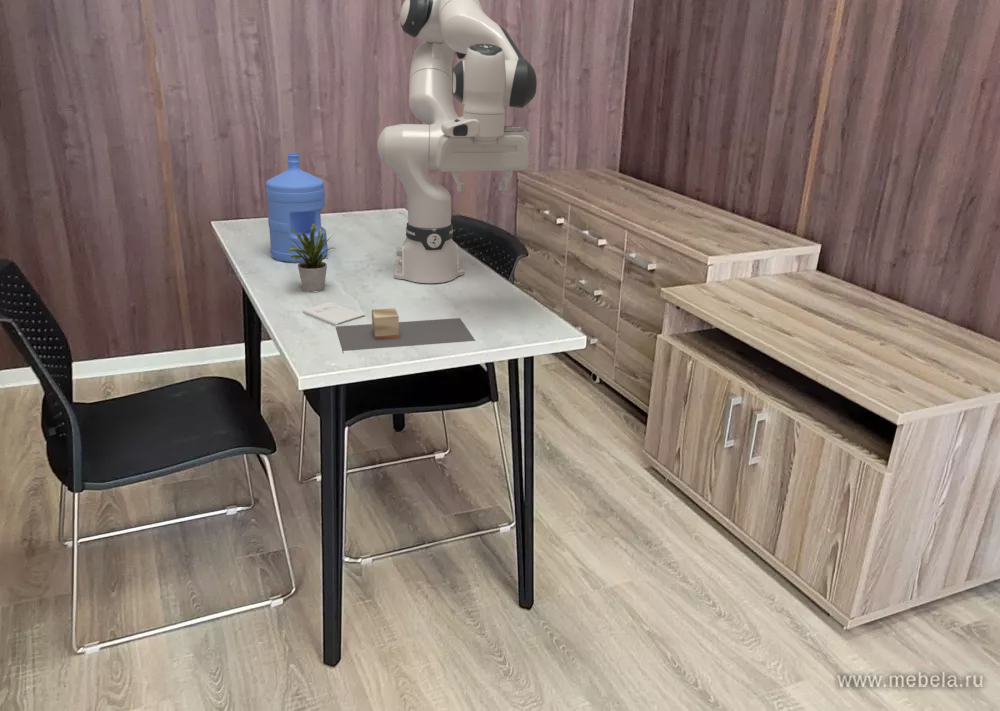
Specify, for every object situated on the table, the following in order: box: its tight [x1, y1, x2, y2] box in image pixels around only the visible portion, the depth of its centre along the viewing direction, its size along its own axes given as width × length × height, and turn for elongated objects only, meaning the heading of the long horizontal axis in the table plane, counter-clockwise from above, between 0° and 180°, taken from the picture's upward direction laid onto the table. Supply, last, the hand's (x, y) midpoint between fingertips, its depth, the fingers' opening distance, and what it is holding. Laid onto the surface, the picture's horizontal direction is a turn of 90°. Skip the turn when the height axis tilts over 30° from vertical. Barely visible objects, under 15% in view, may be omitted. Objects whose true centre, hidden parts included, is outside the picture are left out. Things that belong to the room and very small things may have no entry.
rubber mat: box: [335, 317, 476, 354], centre depth 177 cm, size 14×28×1 cm, turn 106°
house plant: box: [284, 223, 337, 293], centre depth 202 cm, size 14×14×16 cm
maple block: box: [371, 307, 400, 340], centre depth 175 cm, size 5×5×5 cm
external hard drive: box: [302, 301, 366, 328], centre depth 187 cm, size 2×8×12 cm
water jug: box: [265, 153, 329, 263], centre depth 225 cm, size 16×16×28 cm
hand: (481, 191), depth 179 cm, fingers open, 8 cm apart
